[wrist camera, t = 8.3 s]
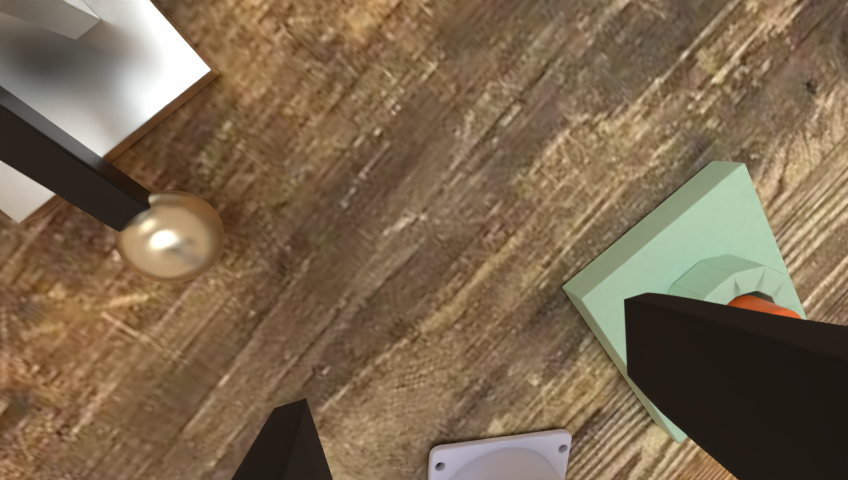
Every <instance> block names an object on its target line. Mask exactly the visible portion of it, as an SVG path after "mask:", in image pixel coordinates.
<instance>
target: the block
mask: <svg viewBox="0 0 848 480" xmlns="http://www.w3.org/2000/svg"><path fill="white" fill-rule="evenodd" d="M563 289H564V291H565V292H566V294H567V295H568V297H569V298H570V300H571V301H572V303H573V304H574V305H575V307H576V308H577V310H578V311H579V313H580V314H581V316H582V317H583V319H584V320H585V321H586V323H587V324H588V326H589V327H590V329H591V330H592V332H593V333H594V335H595V336H596V337H597V339H598V340H599V342H600V343H601V345H602V346H603V348H604V349H605V351H606V352H607V354H608V355H609V356H610V358H611V359H612V361H613V362H614V364H615V365H616V367H617V368H618V370H619V371H620V372H621V374H622V375H623V377H624V378H625V380H626V381H627V383H628V384H629V386H630V387H631V388H632V390H633V391H634V393H635V394H636V396H637V397H638V399H639V400H640V402H641V403H642V404H643V406H644V407H645V409H646V410H647V412H648V413H649V415H650V416H651V418H652V419H653V421H654V422H655V423H656V425H657V426H659V427H660V428H661V429H662V430H663V431H664V432H665V433H666V434H668V435H669V436H670V437H671V438H672V439H673V440H674V441H676V442H677V443H680V442H682V441H683V440H684V439H685V438H686V437H687V435H686V434H685V433H684V432H683V431H681V430H680V429H679V428H678V427H677V426H676V425H675V424H673V423H672V422H671V421H670V420H669V419H668V418H667V417H666V416H664V415H663V414H662V413H661V412H660V411H659V410H658V409H657V408H656V407H655V406H654V405H653V404H652V402H651V401H650V400H649V399H648V398H647V397H646V396H645V395H644V394H643V393H642V392H641V390H640V389H639V388H638V387H637V386H636V385H635V384H634V382H633V381H632V380H631V379H630V378H629V377H628V376H627V361H626V338H625V315H624V299H627V298H630V297H633V296H636V295H640V294H643V293H646V292H650V293H660V294H668V295H674V296H680V297H686V298H692V299H697V300H703V301H708V302H713V303H719V304H724V305H727V304H728V303H729V302H730V301H731V300H733V299H734V298H735V297H738V296H742V295H752V296H755V297H758V298H761V299H763V300H766V301H768V302H771V303H774V304H776V305H779V306H782V307H784V308H787V309H789V310H792V311H794V312H796V313H797V314H798V315H799V316H800V317H801V318H802V319H805V320H807V318H806V316H805V313H804V311H803V308H802V306H801V303H800V301H799V298H798V296H797V293H796V291H795V288H794V286H793V283H792V281H791V278H790V276H789V273H788V271H787V268H786V266H785V263H784V261H783V258H782V256H781V253H780V251H779V248H778V246H777V243H776V241H775V238H774V236H773V233H772V231H771V228H770V226H769V223H768V221H767V218H766V216H765V213H764V211H763V208H762V206H761V203H760V201H759V198H758V196H757V193H756V191H755V188H754V186H753V183H752V181H751V178H750V176H749V173H748V171H747V168H746V166H745V164H744V163H738V162H725V161H712V162H710V163H709V164H708V165H707V166H706V167H704V168H703V169H702V170H701V171H700V172H698V173H697V174H696V175H695V176H694V177H692V178H691V179H690V180H689V181H688V182H686V183H685V184H684V185H683V186H682V187H680V188H679V189H678V190H677V191H676V192H675V193H673V194H672V195H671V196H670V197H669V198H667V199H666V200H665V201H664V202H663V203H661V204H660V205H659V206H658V207H657V208H655V209H654V210H653V211H652V212H651V213H649V214H648V215H647V216H646V217H645V218H643V219H642V220H641V221H640V222H639V223H637V224H636V225H635V226H634V227H633V228H631V229H630V230H629V231H628V232H627V233H626V234H624V235H623V236H622V237H621V238H620V239H618V240H617V241H616V242H615V243H614V244H612V245H611V246H610V247H609V248H608V249H606V250H605V251H604V252H603V253H602V254H600V255H599V256H598V257H597V258H596V259H594V260H593V261H592V262H591V263H590V264H588V265H587V266H586V267H585V268H584V269H583V270H581V271H580V272H579V273H578V274H577V275H575V276H574V277H573V278H572V279H571V280H569V281H568V282H567V283H566V284H565V285H563Z"/></svg>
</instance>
